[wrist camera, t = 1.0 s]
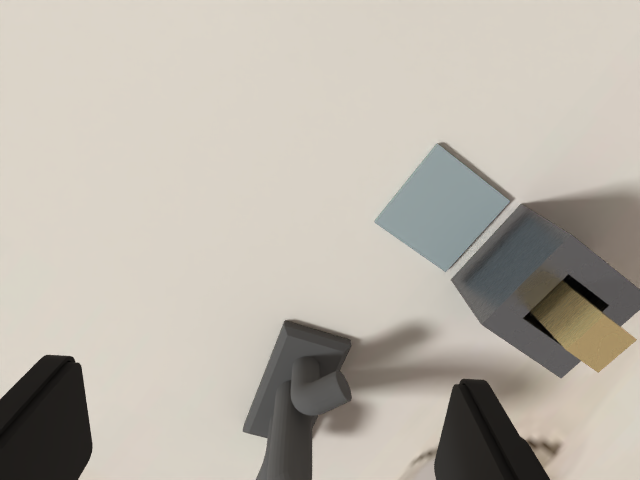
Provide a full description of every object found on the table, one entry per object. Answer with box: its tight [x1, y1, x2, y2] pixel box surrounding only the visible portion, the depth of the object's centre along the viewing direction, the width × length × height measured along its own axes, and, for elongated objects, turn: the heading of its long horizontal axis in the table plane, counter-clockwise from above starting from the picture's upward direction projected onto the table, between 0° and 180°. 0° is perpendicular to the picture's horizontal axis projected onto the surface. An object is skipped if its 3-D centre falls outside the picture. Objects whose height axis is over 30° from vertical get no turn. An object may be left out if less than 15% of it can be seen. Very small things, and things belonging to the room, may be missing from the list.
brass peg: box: [530, 280, 637, 372], centre depth 39 cm, size 4×4×12 cm
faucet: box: [243, 321, 352, 480], centre depth 43 cm, size 18×16×20 cm
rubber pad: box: [375, 144, 510, 272], centre depth 43 cm, size 10×10×1 cm
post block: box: [451, 204, 640, 378], centre depth 42 cm, size 11×11×9 cm
